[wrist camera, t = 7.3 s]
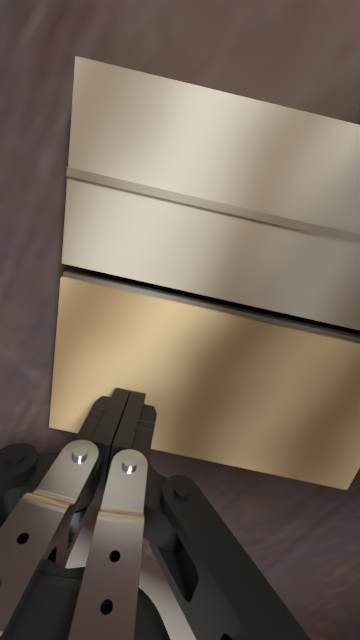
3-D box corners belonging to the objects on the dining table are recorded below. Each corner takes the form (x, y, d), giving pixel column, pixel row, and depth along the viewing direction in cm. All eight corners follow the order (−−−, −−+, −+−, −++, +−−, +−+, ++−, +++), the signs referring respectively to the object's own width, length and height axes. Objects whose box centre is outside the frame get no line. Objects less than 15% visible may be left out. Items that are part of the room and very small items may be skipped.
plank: (404, 342, 14) (423, 353, 13) (336, 471, 16) (347, 490, 15) (72, 268, 13) (61, 272, 12) (59, 412, 16) (48, 427, 15)
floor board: (491, 172, 11) (536, 166, 10) (404, 332, 14) (429, 346, 12) (90, 76, 11) (74, 54, 9) (75, 257, 13) (60, 263, 12)
